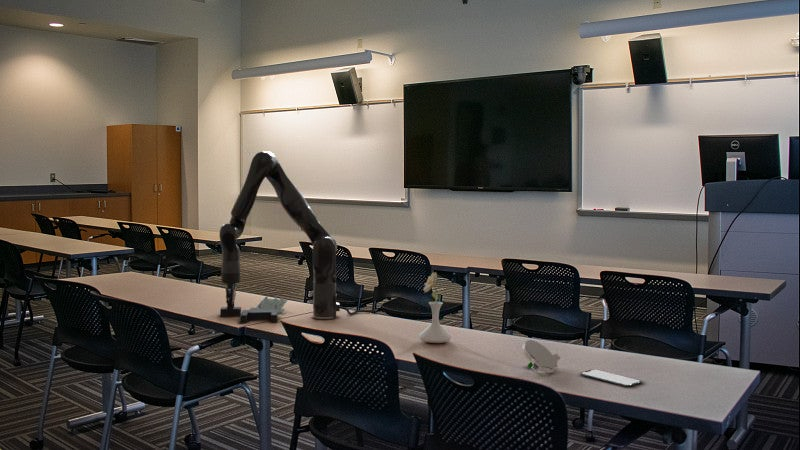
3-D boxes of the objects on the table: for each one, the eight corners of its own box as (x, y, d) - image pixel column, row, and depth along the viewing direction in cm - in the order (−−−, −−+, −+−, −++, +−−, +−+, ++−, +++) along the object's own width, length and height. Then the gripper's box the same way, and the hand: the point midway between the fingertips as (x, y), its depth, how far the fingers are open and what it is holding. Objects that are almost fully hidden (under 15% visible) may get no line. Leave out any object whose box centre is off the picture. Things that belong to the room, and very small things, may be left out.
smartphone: (643, 382, 202) (594, 370, 214) (643, 380, 202) (594, 368, 214) (628, 387, 196) (578, 374, 208) (628, 385, 196) (578, 372, 208)
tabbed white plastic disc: (545, 374, 205) (527, 339, 208) (523, 385, 209) (506, 349, 212) (566, 364, 217) (549, 331, 220) (545, 374, 221) (529, 341, 224)
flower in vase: (421, 337, 257) (422, 268, 255) (452, 339, 255) (454, 269, 253) (415, 345, 244) (416, 272, 242) (449, 347, 242) (450, 274, 240)
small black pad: (241, 314, 297) (241, 306, 297) (240, 316, 292) (240, 309, 292) (221, 314, 296) (221, 307, 296) (220, 316, 291) (220, 309, 291)
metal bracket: (259, 293, 313) (292, 295, 310) (261, 305, 315) (293, 307, 312) (247, 308, 300) (280, 310, 297) (248, 320, 302) (282, 322, 299)
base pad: (277, 316, 292) (277, 309, 292) (276, 322, 280) (276, 315, 280) (242, 317, 290) (242, 310, 290) (240, 323, 278) (240, 315, 278)
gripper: (239, 273, 286) (238, 314, 287) (241, 269, 301) (241, 308, 302) (219, 273, 285) (219, 314, 286) (223, 269, 300) (223, 308, 300)
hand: (230, 311), depth 294 cm, fingers open, 7 cm apart
